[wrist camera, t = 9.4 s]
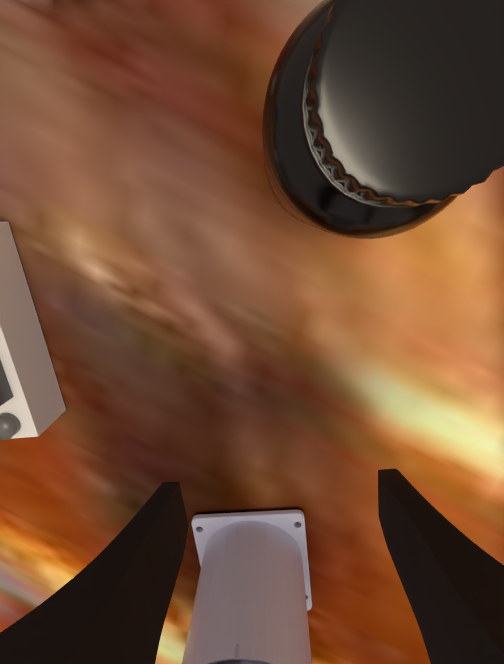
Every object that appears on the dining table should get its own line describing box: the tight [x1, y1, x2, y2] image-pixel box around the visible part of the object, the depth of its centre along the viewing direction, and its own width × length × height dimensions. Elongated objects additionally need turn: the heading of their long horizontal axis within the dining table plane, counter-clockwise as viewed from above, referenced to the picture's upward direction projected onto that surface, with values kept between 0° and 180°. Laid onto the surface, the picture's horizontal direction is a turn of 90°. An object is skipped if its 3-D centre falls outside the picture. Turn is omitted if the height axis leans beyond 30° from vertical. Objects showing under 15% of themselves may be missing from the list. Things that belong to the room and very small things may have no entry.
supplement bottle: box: [263, 0, 504, 239], centre depth 13 cm, size 7×7×12 cm
